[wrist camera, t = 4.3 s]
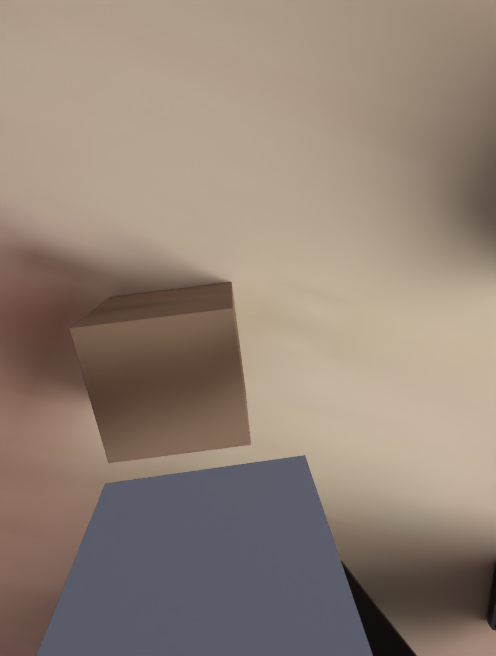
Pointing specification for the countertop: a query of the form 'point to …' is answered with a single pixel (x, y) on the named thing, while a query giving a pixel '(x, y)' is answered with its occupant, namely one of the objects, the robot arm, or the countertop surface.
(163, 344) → the pedestal
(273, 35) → the countertop surface
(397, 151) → the countertop surface
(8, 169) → the countertop surface
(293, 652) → the cube
